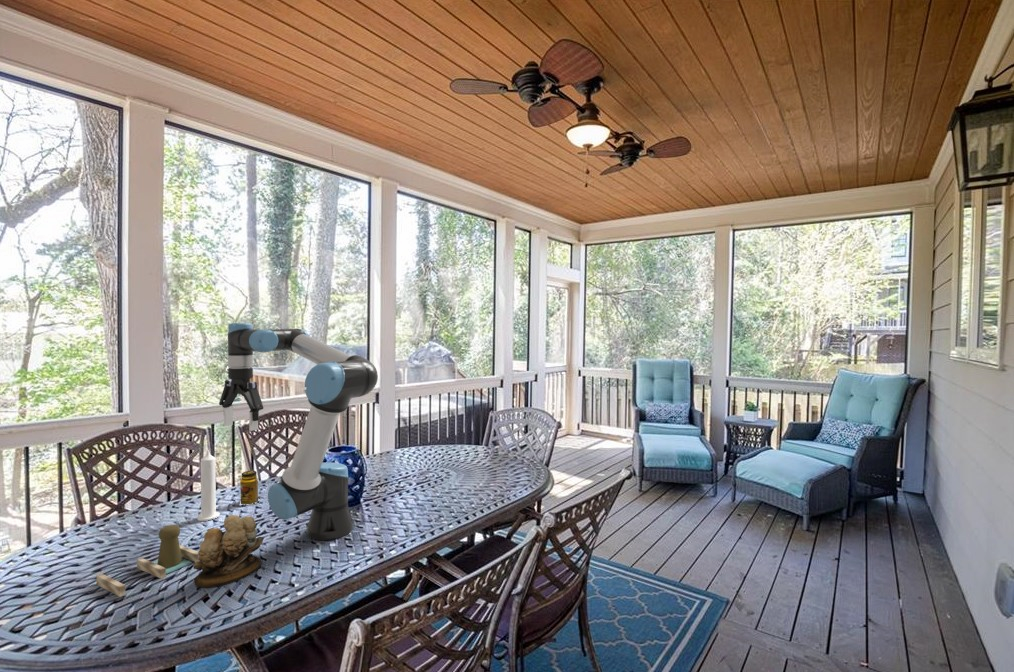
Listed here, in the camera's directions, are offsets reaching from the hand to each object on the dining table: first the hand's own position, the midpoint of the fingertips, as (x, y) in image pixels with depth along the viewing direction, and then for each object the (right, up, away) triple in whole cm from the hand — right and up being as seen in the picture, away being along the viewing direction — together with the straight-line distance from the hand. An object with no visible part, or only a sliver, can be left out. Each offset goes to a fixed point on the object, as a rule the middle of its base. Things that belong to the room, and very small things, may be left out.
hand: (240, 428), depth 165 cm
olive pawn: (-7, -35, -25) cm, 44 cm away
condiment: (-10, -34, +23) cm, 42 cm away
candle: (-16, -34, +8) cm, 39 cm away
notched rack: (-7, -36, -25) cm, 44 cm away
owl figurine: (+13, -36, -29) cm, 48 cm away
